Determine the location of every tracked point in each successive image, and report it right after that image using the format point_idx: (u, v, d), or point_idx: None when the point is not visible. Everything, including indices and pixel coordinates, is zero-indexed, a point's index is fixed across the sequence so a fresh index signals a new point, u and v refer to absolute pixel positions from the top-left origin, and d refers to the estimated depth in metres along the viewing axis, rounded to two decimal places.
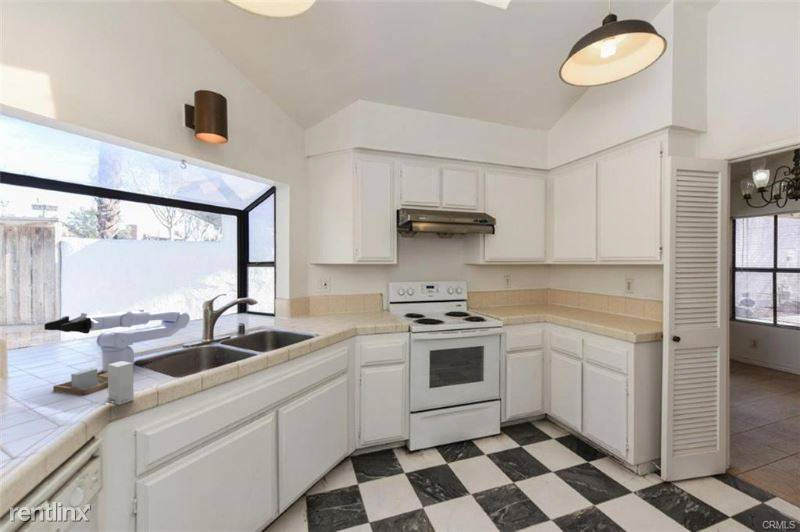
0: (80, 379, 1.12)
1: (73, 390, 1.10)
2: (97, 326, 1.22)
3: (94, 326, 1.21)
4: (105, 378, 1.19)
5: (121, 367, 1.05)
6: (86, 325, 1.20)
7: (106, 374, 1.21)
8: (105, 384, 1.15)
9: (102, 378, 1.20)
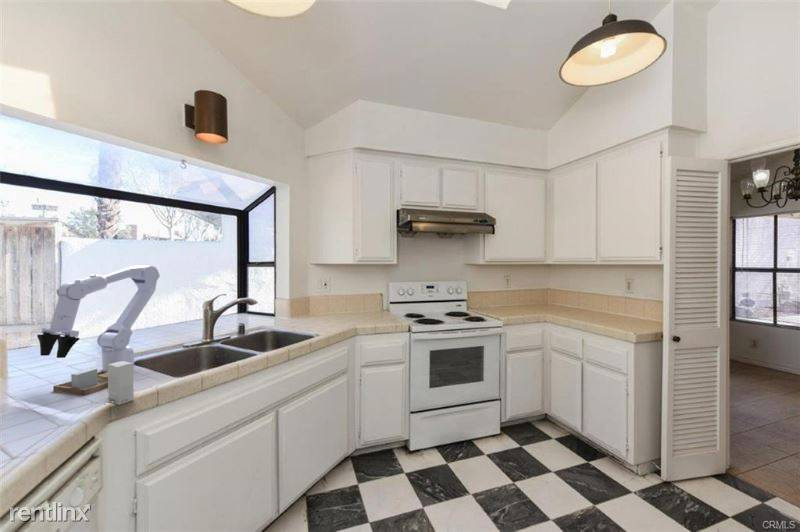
0: (80, 379, 1.12)
1: (73, 390, 1.10)
2: (77, 333, 1.17)
3: (75, 335, 1.16)
4: (104, 378, 1.19)
5: (121, 367, 1.05)
6: (69, 338, 1.16)
7: (105, 374, 1.21)
8: (105, 384, 1.15)
9: (102, 378, 1.20)
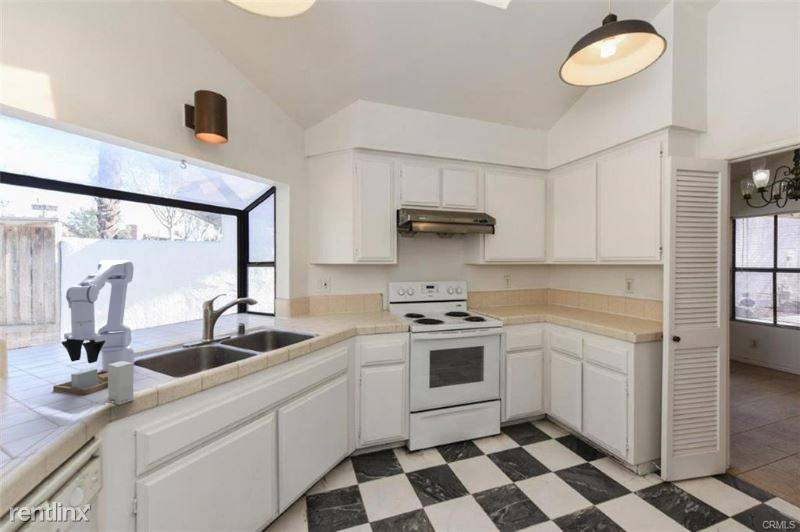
0: (80, 379, 1.12)
1: (73, 390, 1.10)
2: (101, 337, 1.13)
3: (100, 340, 1.13)
4: (102, 379, 1.18)
5: (121, 367, 1.05)
6: (95, 343, 1.13)
7: (104, 375, 1.21)
8: (105, 384, 1.15)
9: (100, 378, 1.19)
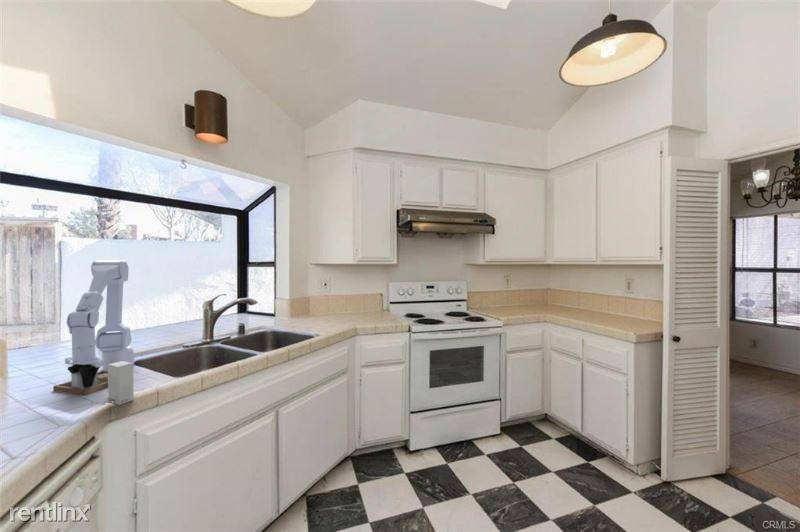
0: (80, 379, 1.12)
1: (73, 390, 1.10)
2: (102, 362, 1.13)
3: (101, 365, 1.13)
4: (99, 379, 1.18)
5: (121, 367, 1.05)
6: None
7: (102, 375, 1.20)
8: (105, 384, 1.15)
9: (98, 379, 1.19)
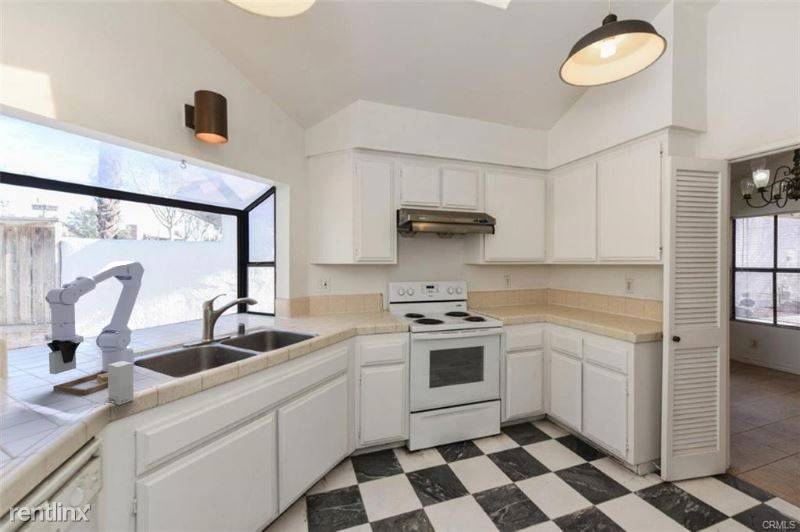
0: (58, 358, 1.14)
1: (73, 390, 1.10)
2: (81, 338, 1.15)
3: (81, 341, 1.15)
4: (101, 379, 1.19)
5: (121, 367, 1.05)
6: None
7: (104, 374, 1.21)
8: (105, 384, 1.15)
9: (100, 378, 1.19)
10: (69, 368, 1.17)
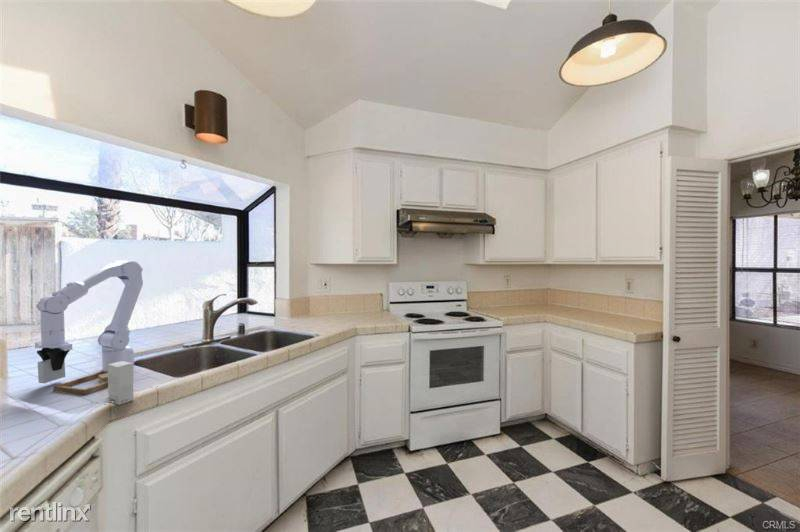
0: (47, 367, 1.15)
1: (73, 390, 1.10)
2: (70, 346, 1.16)
3: (69, 349, 1.16)
4: (101, 379, 1.19)
5: (121, 367, 1.05)
6: (59, 351, 1.17)
7: (105, 375, 1.21)
8: (105, 384, 1.15)
9: (100, 378, 1.20)
10: (58, 376, 1.18)
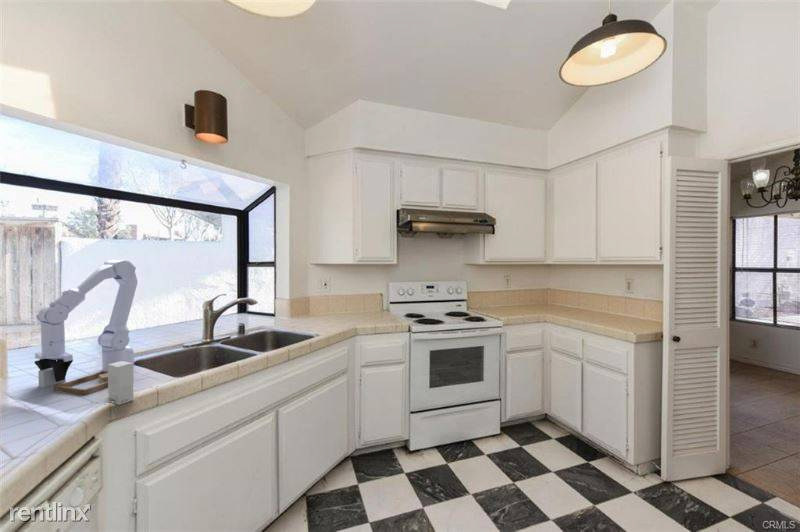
0: (47, 376, 1.15)
1: (73, 390, 1.10)
2: (70, 356, 1.16)
3: (70, 359, 1.16)
4: (101, 379, 1.19)
5: (121, 367, 1.05)
6: None
7: (105, 374, 1.21)
8: (105, 384, 1.15)
9: (100, 378, 1.20)
10: None
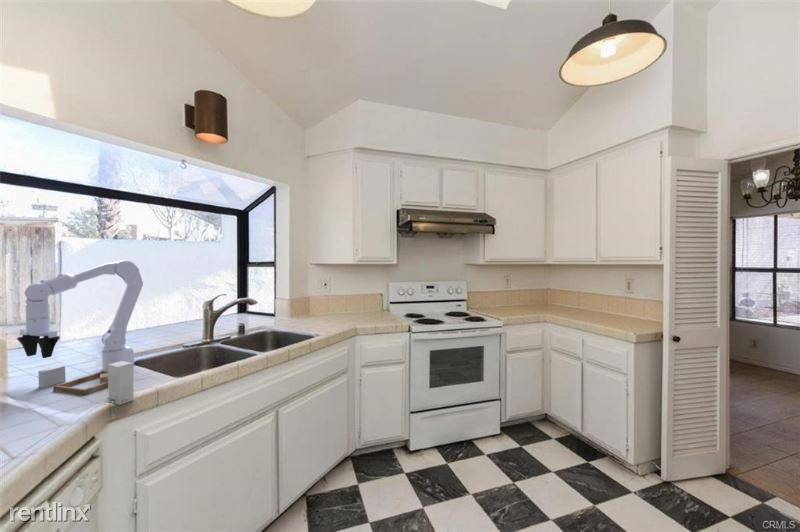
0: (47, 376, 1.15)
1: (73, 390, 1.10)
2: (55, 333, 1.18)
3: (54, 336, 1.18)
4: None
5: (121, 367, 1.05)
6: None
7: (105, 374, 1.21)
8: (105, 384, 1.15)
9: None
10: None
